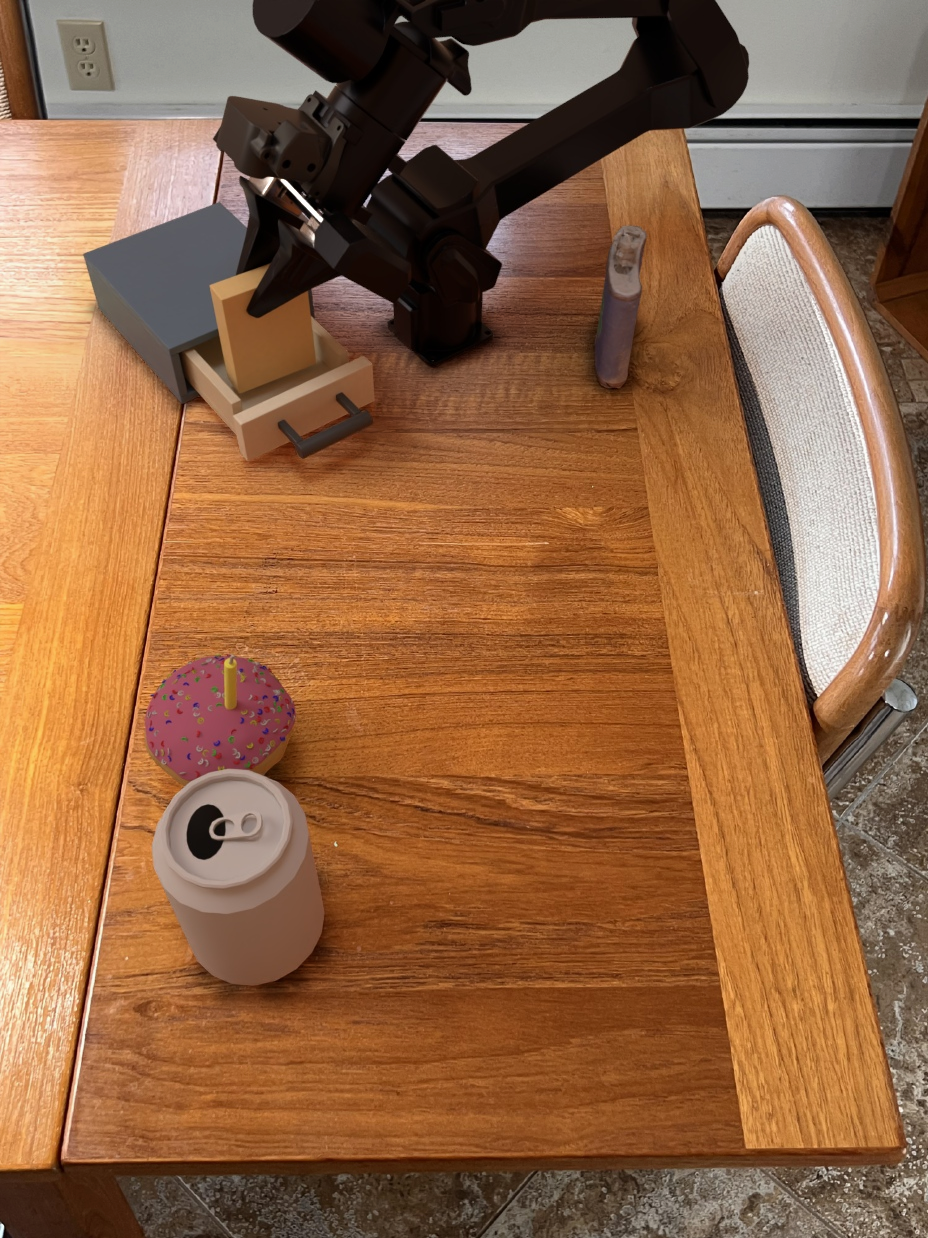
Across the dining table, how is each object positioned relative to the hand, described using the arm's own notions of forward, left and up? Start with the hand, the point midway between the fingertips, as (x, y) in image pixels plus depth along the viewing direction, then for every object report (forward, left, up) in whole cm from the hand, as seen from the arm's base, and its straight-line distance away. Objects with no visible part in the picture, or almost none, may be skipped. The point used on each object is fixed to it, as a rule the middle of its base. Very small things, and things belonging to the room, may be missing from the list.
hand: (244, 306), depth 81 cm
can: (+22, +36, -10) cm, 43 cm away
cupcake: (+18, +26, -10) cm, 33 cm away
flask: (-26, +11, -10) cm, 30 cm away
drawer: (-1, +1, -9) cm, 9 cm away
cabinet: (-1, -11, -9) cm, 14 cm away
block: (-1, 0, -7) cm, 7 cm away
